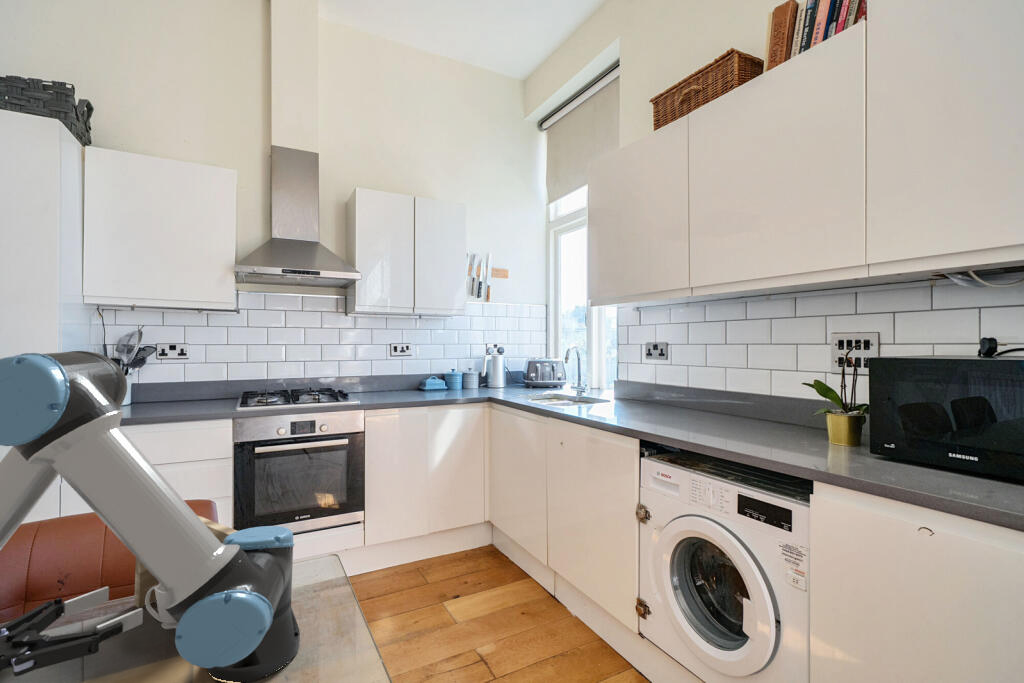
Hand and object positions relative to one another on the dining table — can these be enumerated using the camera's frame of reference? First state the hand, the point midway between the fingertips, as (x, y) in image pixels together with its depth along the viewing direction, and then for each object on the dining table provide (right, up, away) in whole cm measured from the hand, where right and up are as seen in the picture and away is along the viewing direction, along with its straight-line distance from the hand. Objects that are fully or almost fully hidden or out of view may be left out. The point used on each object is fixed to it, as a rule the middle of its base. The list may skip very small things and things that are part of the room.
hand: (124, 604), depth 89 cm
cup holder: (+5, -7, +9) cm, 13 cm away
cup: (+4, -7, +6) cm, 10 cm away
